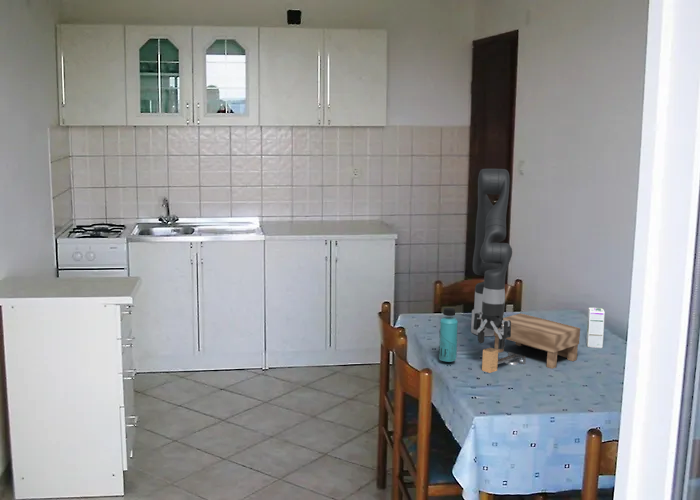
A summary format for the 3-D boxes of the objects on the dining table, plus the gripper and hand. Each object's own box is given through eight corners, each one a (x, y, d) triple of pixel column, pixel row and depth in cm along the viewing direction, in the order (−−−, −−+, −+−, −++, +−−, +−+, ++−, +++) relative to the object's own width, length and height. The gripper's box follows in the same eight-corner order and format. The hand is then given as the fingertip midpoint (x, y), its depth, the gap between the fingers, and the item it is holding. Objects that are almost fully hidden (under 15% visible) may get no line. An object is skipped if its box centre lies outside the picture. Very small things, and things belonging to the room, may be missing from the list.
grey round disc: (502, 364, 278) (503, 361, 278) (509, 361, 281) (509, 358, 281) (513, 366, 275) (514, 364, 275) (519, 364, 278) (520, 361, 278)
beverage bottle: (458, 361, 279) (460, 307, 275) (454, 366, 273) (456, 311, 269) (440, 359, 281) (442, 305, 277) (436, 364, 275) (438, 309, 271)
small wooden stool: (518, 343, 302) (520, 313, 300) (577, 360, 283) (580, 328, 281) (493, 351, 291) (494, 320, 289) (552, 369, 272) (554, 336, 270)
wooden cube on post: (494, 374, 266) (495, 353, 265) (477, 369, 271) (479, 348, 270) (525, 363, 278) (526, 343, 276) (509, 358, 283) (510, 339, 282)
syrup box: (602, 348, 298) (605, 311, 295) (586, 347, 299) (589, 310, 296) (601, 344, 303) (604, 308, 300) (585, 342, 304) (588, 306, 302)
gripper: (470, 297, 268) (467, 342, 271) (503, 306, 258) (500, 353, 261) (483, 294, 273) (481, 338, 276) (517, 302, 262) (514, 348, 266)
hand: (491, 345), depth 268 cm, fingers open, 8 cm apart
